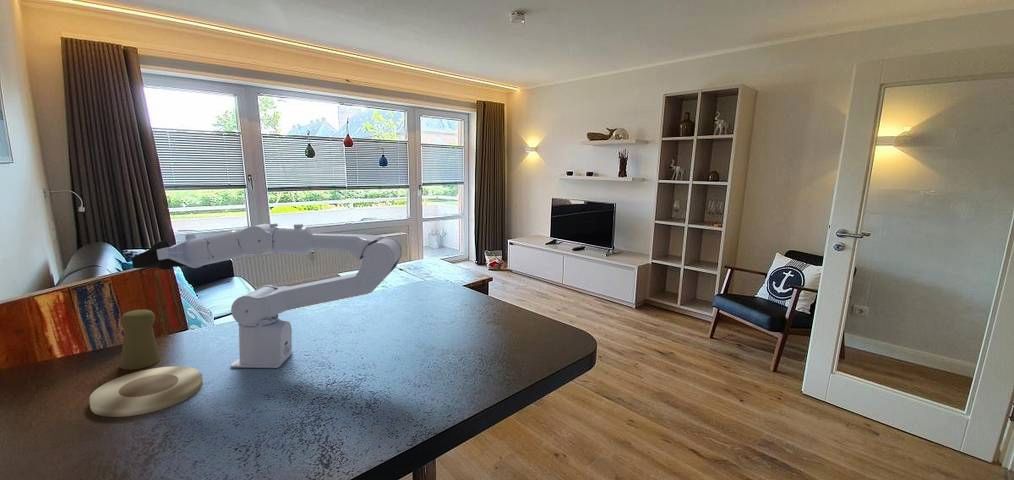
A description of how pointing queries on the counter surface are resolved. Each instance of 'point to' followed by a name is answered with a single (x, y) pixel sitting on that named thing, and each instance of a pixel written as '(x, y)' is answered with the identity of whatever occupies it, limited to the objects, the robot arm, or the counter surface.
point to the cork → (138, 340)
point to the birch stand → (145, 391)
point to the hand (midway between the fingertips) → (150, 262)
